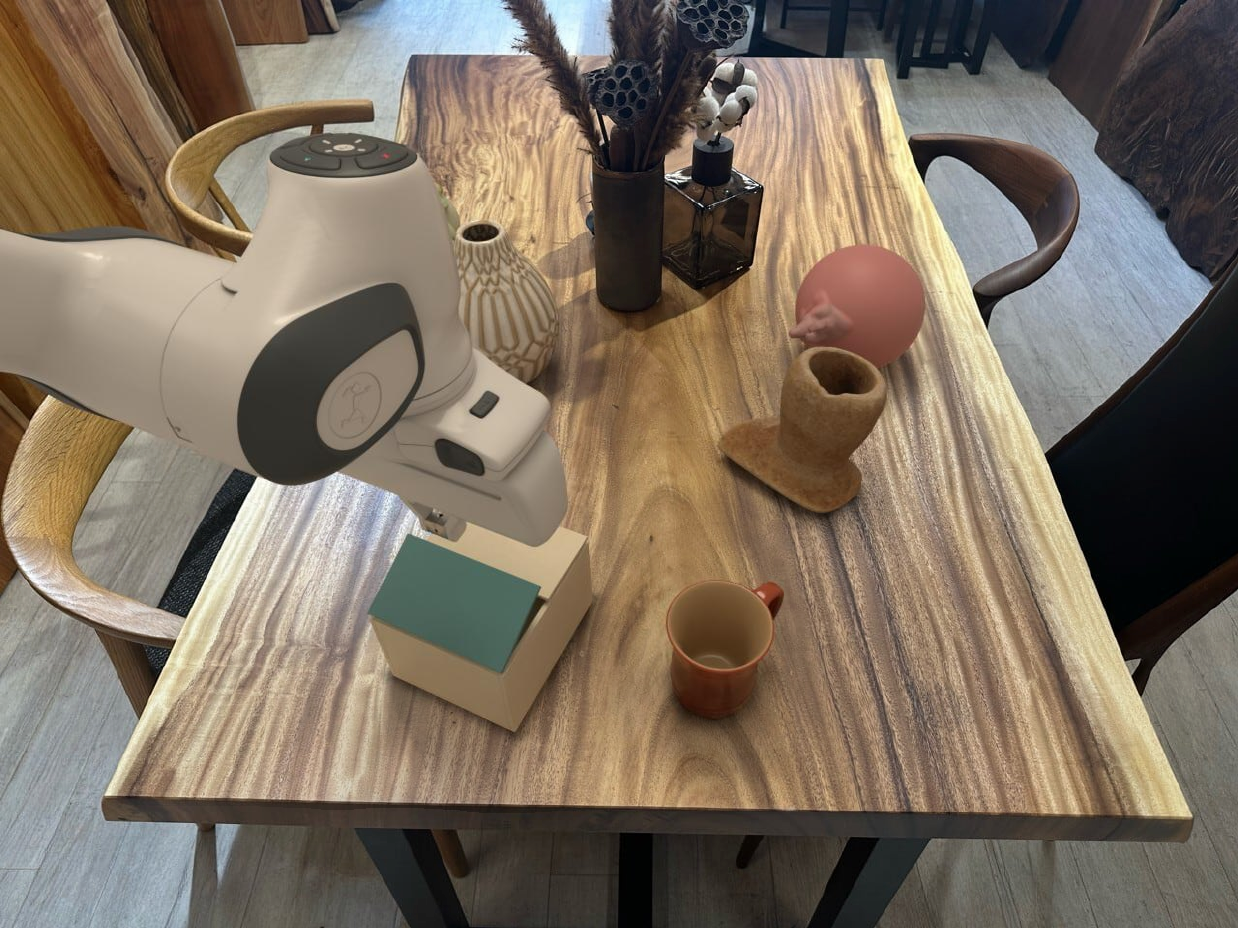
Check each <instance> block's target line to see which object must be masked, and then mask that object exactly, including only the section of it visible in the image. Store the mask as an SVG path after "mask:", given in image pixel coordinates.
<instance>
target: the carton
mask: <svg viewBox="0 0 1238 928" xmlns="http://www.w3.org/2000/svg"><path fill="white" fill-rule="evenodd" d="M466 524H467V527H466V530H465V532H464V533H463V535H462V536H461V537H460V539H459V540H458V541H457V542H452V541H449V540H447V539H445V538H442V537H440V536H438V535H435V534H432V533H430V535H429V536H428V537H427V538H426V539H425V540H426V541H429V542H431V543H434V544H436V545H439V546H441V547H444V548H446V549H449V550H451V551H454V552H456V553H459V554H461V555H464V556H466V557H469V558H471V559H474V560H476V561H479V562H481V563H484V564H486V565H489V566H491V567H494V568H497V569H499V570H502V571H504V572H507V573H509V574H512V575H514V576H517V577H519V578H522V579H524V580H527V581H529V582H532V583H534V584H537V585H539V586H541V589H540V591H539V593H538V596H537V598H536V600H535V602H534V605H533V607H532V609H531V611H530V613H529V616H528V618H527V620H526V622H525V625H524V627H523V629H522V631H521V633H520V636H519V638H518V640H517V642H516V645H515V647H514V649H513V651H512V653H511V656H510V658H509V660H508V662H507V665H506V667H505V669H504V671H503V673H500V672H498V671H495V670H493V669H491V668H489V667H486V666H484V665H482V664H480V663H477V662H475V661H473V660H471V659H468V658H466V657H464V656H462V655H459V654H457V653H455V652H453V651H450V650H448V649H446V648H444V647H441V646H439V645H437V644H435V643H432V642H430V641H428V640H426V639H423V638H421V637H419V636H417V635H414V634H412V633H410V632H408V631H405V630H403V629H401V628H399V627H396V626H394V625H392V624H390V623H387V622H385V621H383V620H381V619H378V618H376V617H374V616H372V615H370V616H369V619H368V620H369V623H370V625H371V627H372V629H373V631H374V634H375V636H376V639H377V641H378V643H379V646H380V648H381V651H382V653H383V655H384V657H385V660H386V663H387V665H388V667H389V670H390V672H391V674H392V676H394V678H398V679H399V680H402V681H403V682H406V683H408V684H410V685H412V686H415V687H417V688H419V689H421V690H423V691H426V692H427V693H430V694H431V695H433V696H436V697H438V698H440V699H442V700H445V701H447V702H449V703H451V704H453V705H455V706H457V707H460V708H462V709H464V710H466V711H468V712H470V713H473V714H475V715H477V716H478V717H480V718H483V719H484V720H487V721H490V722H492V723H494V724H496V725H498V726H501V727H502V728H505V729H507V730H509V731H511V732H513V733H516V732H517V731H518V729H519V727H520V725H521V724H522V722H523V720H524V718H525V717H526V716H527V714H528V712H529V710H530V708H531V707H532V705H533V703H534V702H535V700H536V698H537V696H538V695H539V693H540V691H541V690H542V688H543V686H544V685H545V683H546V681H547V679H548V678H549V676H550V674H551V673H552V671H553V669H554V667H555V666H556V664H557V662H558V661H559V659H560V657H561V656H562V654H563V652H564V651H565V649H566V647H567V646H568V644H569V642H570V640H571V639H572V637H573V636H574V634H575V632H576V630H577V628H578V627H579V625H580V623H581V622H582V620H583V618H584V617H585V615H586V614H587V612H588V610H589V608H590V607H591V605H592V603H593V590H592V589H593V588H592V570H591V556H590V555H591V554H590V553H591V552H590V542H589V541H588V540H589V537H588V536H587V535H585V534H582V533H579V532H577V531H574V530H572V529H569V528H566V527H563V526H560V525H559V527H558V528H557V530H556V531H555V533H554V534H553V535H552V537H551V538H550V539H549V540H548V541H547V542H545V543H544V544H542V545H541V546H538V547H531V546H528V545H526V544H523V543H521V542H518V541H516V540H513V539H511V538H508V537H505V536H503V535H500V534H498V533H495V532H492V531H490V530H487V529H485V528H482V527H479V526H477V525H474V524H472V523H469V522H466Z"/></svg>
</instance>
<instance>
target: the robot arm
mask: <svg viewBox="0 0 1238 928" xmlns="http://www.w3.org/2000/svg"><path fill="white" fill-rule="evenodd" d="M266 179H267V187H268V188H267V196H266V200H265V205H264V207H263V211H262V214H261V217H260V219H259V222H258V225H257V227H256V228H255V231H254V234H253V235H252V237H251V239H250V241H249V243H248V245H247V246H246V248H245V250H244V251H243V253H242V254H241V256H240V257H239V259H238V260H237V261H236V262H235V261H232V260H228V259H226V258H222V257H218V256H215V255H212V254H208V253H205V252H202V251H199V250H196V249H192V248H190V247H188V246H186V245H183V244H181V243H178V242H176V241H174V240H170V239H169V238H166V237H163V236H160V235H158V234H155V233H153V232H151V231H147V230H144V229H140V228H137V227H130V226H123V225H122V226H121V225H103V226H92V227H84V228H78V229H71V230H64V231H57V232H48V233H46V232H45V233H22V232H18V231H14V230H10V229H6V228H5V229H4V228H0V372H1V373H8V374H10V375H15V376H18V377H19V378H21V379H22V380H25V381H26V382H27V383H29V384H31V385H33V386H34V387H36V388H37V389H39V390H40V391H41V392H44V393H45V394H47V395H49V396H50V397H52V398H53V399H55V400H57V401H59V402H61V403H63V404H65V405H67V406H69V407H71V408H74V409H77V410H79V411H82V412H84V413H89V414H91V415H95V416H97V417H101V418H104V419H107V420H110V421H113V422H120V423H122V424H125V425H126V426H129V427H132V428H135V429H137V430H140V431H142V432H143V433H144V432H145V433H147V434H149V435H151V436H155V437H157V438H160V439H162V440H164V441H167V442H170V443H172V444H175V445H177V446H179V447H182V448H184V449H187V450H189V451H192V452H194V453H197V454H199V455H201V456H203V457H206V458H207V459H210V460H213V461H216V462H218V463H219V464H222V465H226V466H228V467H230V468H233V469H236V470H238V471H240V472H243V473H246V474H248V475H252V476H254V477H257V478H260V479H263V480H266V481H268V482H270V483H273V484H276V485H279V486H287V487H294V486H303V485H307V484H311V483H314V482H317V481H321V480H323V479H326V478H328V477H329V476H332V475H334V474H336V473H338V474H341V475H344V476H347V477H349V478H352V479H355V480H358V481H360V482H362V483H365V484H368V485H370V486H373V487H376V488H378V489H381V490H383V491H386V492H389V493H391V494H394V495H397V496H398V497H399V499H400V501H401V502H402V503H403V504H404V505H405V506H406V507H407V508H408V510H410V511H411V512H412V514H413V515H414V516H415V517H416V518H417V519H418V521H419V525H420V528H421V530H422V531H425V532H426V533H430V534H435V535H438V536H440V537H442V538H445V539H447V540H449V541H452V542H457V541H458V540H459V539H460V537H461V536H462V535H463V533H464V532H465V530H466V527H467V524H466V522H469V523H472V524H474V525H477V526H479V527H482V528H485V529H487V530H490V531H492V532H495V533H498V534H500V535H503V536H505V537H508V538H511V539H513V540H516V541H518V542H521V543H523V544H526V545H528V546H531V547H538V546H541V545H542V544H544V543H545V542H547V541H548V540H549V539H550V538H551V537H552V535H553V534H554V533H555V531H556V530H557V528H558V527H559V526H560V525H561V524H562V523H563V520H564V519H565V516H566V514H567V511H568V507H569V498H568V497H569V496H568V487H567V482H566V481H567V480H566V474H565V469H564V465H563V460H562V457H561V453H560V450H559V447H558V446H557V443H556V442H555V440H554V438H553V437H552V436H551V435H550V434H549V433H548V431H546V430H545V428H546V425H547V424H548V422H549V420H550V418H551V415H552V411H551V410H552V408H551V404H550V401H549V399H548V398H547V397H546V396H545V394H543V393H541V392H540V391H539V390H537V389H535V388H533V387H531V386H530V385H528V384H527V383H526V384H525V383H523V382H521V381H520V380H518V379H516V378H515V377H513V376H512V375H510V374H509V373H507V372H506V371H504V370H503V369H501V368H500V367H498V366H497V365H496V364H494V363H493V362H492V361H491V360H489V359H488V358H487V357H486V356H485V355H484V354H482V353H481V352H480V351H478V350H477V349H475V348H473V347H472V344H471V339H470V336H469V333H468V330H467V328H466V326H465V325H464V323H463V321H462V320H461V317H460V315H459V302H460V295H461V283H460V277H459V272H458V266H457V260H456V255H455V251H454V246H453V241H452V237H451V233H450V229H449V225H448V221H447V217H446V214H445V210H444V207H443V204H442V201H441V198H440V195H439V192H438V190H437V187H436V184H435V183H436V182H435V180H434V178H433V175H432V173H431V172H430V169H429V168H428V166H427V165H426V163H425V162H424V160H423V158H422V157H421V156H420V155H419V154H418V153H417V152H416V151H414V150H413V149H411V148H410V147H407V145H405V144H402V143H399V142H396V141H393V140H389V139H385V138H381V137H378V136H373V135H368V134H361V133H356V132H336V133H335V132H334V133H333V132H323V133H321V132H320V133H315V134H314V133H313V134H309V135H303V136H300V137H295V138H293V139H291V140H289V141H286V142H285V143H283V144H282V145H280V146H278V147H276V148H274V149H273V150H272V151H271V152H270V153H269V154H268V157H267V160H266Z"/></svg>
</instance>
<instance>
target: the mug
mask: <svg viewBox="0 0 1238 928" xmlns="http://www.w3.org/2000/svg"><path fill="white" fill-rule="evenodd" d="M784 598H785V591H784V589H782V587H781V586H779V585H778V584H777V583H775V582H774V581H767V582H764V583H763V584H761V585H759V586H758V587H757V588H754V589H749V587H746V586H745V585H742V584H740V583H739V582H738V583H737V582H734V581H728V580H720V579H711V580H704V581H700V582H696V583H694V584H692V585H689V586H687V587H686V588H684V589H683V590H682V591H680V592H679V593H678V594H677V595H676V596H675V597H674V599H673V600H672V602H671V603H670V605H669V608H668V610H667V612H666V613H667V614H666V619H665V627H666V633H667V637H668V640H669V642H670V644H671V646H672V652H671V661H670V668H669V675H670V680H671V684H672V689H673V691H674V694H675V696H676V698H677V700H678V701H679V702H680V704H681V705H682V706H683V707H684V708H685V709H686V710H687V711H689V712H690V713H692V714H694V715H696V716H698V717H701V718H706V719H713V720H714V719H723V718H727V717H729V716H731V715H732V716H733V714H736V713H737V712H738V711H739V710H741V708H742V707H743V706H744V705H745V704H746V702H747V701H748V699H749V698H750V696H751V695H752V693H753V690H754V688H755V684H756V677H757V673H758V666H759V663H760V662H761V661H762V660H763V659H764V658H765V656H767V654H768V652H769V650H770V649H771V646H772V644H773V641H774V636H775V624H774V621H775V619H776V617H777V616H778V614H779V611H780V610H781V608H782V605H783V602H784Z"/></svg>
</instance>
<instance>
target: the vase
mask: <svg viewBox="0 0 1238 928" xmlns="http://www.w3.org/2000/svg"><path fill="white" fill-rule="evenodd" d="M454 251H455V255H456V260H457V266H458V272H459V277H460V283H461V295H460V302H459V315H460V317H461V320H462V321H463V323H464V325H465V326H466V328H467V330H468V333H469V336H470V339H471V344H472V347H473V348H475V349H477V350H478V351H480V352H481V353H482V354H484V355H485V356H486V357H487V358H488V359H489V360H491V361H492V362H493V363H494V364H496V365H497V366H498V367H500V368H501V369H503V370H504V371H506V372H507V373H509V374H510V375H512V376H513V377H515V378H516V379H518V380H520V381H521V382H523V383H525V384H526V385H527V384H528V383H530V382H531V381H533V380H534V379H535V378H537V377H539V375H540V374H541V373H542V372H543V371H544V370H545V369H546V367H547V366H548V364H549V363H550V361H551V359H552V357H553V355H554V353H555V350H556V348H557V344H558V341H559V335H560V333H559V332H560V316H559V315H560V314H559V310H558V307H557V303H556V301H555V298H554V294H553V293H552V290H551V288H550V286H549V284H548V282H547V280H546V279H545V277H544V275H543V274H542V273H541V272H540V270H539V269H538V268H537V267H536V265H534V263H532V261H531V260H530V259H529V258H528V257H527V256H525V254H523V252H521V251H520V250H519V249H518V248H517V247H516V246H515V244H513V242H512V240H511V238H510V237H509V234H508V232H507V230H506V228H505V227H504V225H503V224H502V223H500V222H498V221H496V220H492V219H489V218H487V219H486V218H481V219H474V220H469V221H467V222H465V223H463V224H461V225H460V227H459V228H458V230H457V232H456V236H455V242H454Z"/></svg>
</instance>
